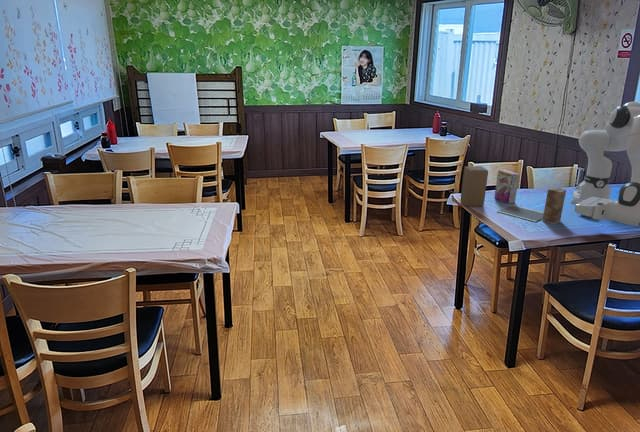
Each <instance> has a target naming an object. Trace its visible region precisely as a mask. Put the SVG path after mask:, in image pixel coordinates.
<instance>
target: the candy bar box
mask: <svg viewBox="0 0 640 432" xmlns="http://www.w3.org/2000/svg"><path fill="white" fill-rule="evenodd" d="M496 176H497V177H496V184H495V185H496V186H495V190H494V191H495V193H494V197H493V198H494V199H497V200H499V201H501V202H503V203H506V204H514V203H515V202H516V197H517V191H518V185H519V178H520V174H519V173H516V172H513V171H511V170H509V169H508V170H507V169H499V170H498V171H497V175H496Z"/></svg>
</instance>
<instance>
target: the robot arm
mask: <svg viewBox="0 0 640 432" xmlns="http://www.w3.org/2000/svg"><path fill="white" fill-rule="evenodd" d="M578 144H579V146H580V148H581V149H582V150H583V151H584V152H585V153H586V155H587V159H588V160H587V161H588V163H587V169H586V173H585V175H584V177H583V181H581V182H580V183H579V184H578V185H575V190H573V191H572V195H573V199H572V200H571V201H570V205H574V213H576V214H578V215H581V216H584V215H585V216H584V217H591V218H592V219H593V220H608V221H616V222H618V223H621V224H625V225H630V226H636V227H637V226H640V102H639V101H629V102H626V103H625V104H623V105H618V106H616V107H615V108H613V110H612V111H611V113H610V115H609V119H608V120H607V122H606V124H605V129H589V130H586V131H585V130H584V131H583V132H582V133H581V134H580V136H579V138H578ZM622 151H626V154H627V157H628V159H629V162H630V167H631V179H630V182H627V183H625V184H623V185H622V186H621V187H620V189H619V191H618V192H619V193H618V199H617V200H614V199H612V198H611V197H610V195H611V190H612V187H611V186H610V182H611V173H612V168H613V162H612V160H610V158H607V156H605V155H604V153H605V152H622Z"/></svg>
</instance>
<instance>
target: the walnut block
mask: <svg viewBox="0 0 640 432" xmlns="http://www.w3.org/2000/svg"><path fill="white" fill-rule="evenodd" d="M566 193H567V189H564V188H559V187H555V186H552V187H550V188H548V189H547V193H546V199H545V204H544V210H543V213H544V214H543V219H542V221H543V222H545V221H546V223H549V222H550V224H553V223H554V225H556V224H557V223H560V222H561V218H562V215H563V214H562V213H563V208H564V205H565V204H564V203H565V199H566Z"/></svg>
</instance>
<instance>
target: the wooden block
mask: <svg viewBox="0 0 640 432" xmlns="http://www.w3.org/2000/svg"><path fill="white" fill-rule="evenodd" d="M463 168H464V169H463V176H462V184H461V192H460V202H461V203H462V204H463V205H464V206H465V207H484V205H485V201H486V200H485V198H486V190H487V185H488V184H487V183H488V177H489V170H488V169H486V168H485V167H483V166H482V165H479V166H478V165H475V166H474V165H470V166H469V165H467V166H464V167H463Z"/></svg>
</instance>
